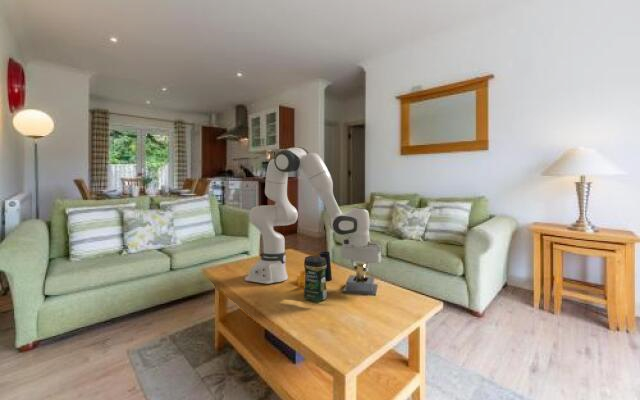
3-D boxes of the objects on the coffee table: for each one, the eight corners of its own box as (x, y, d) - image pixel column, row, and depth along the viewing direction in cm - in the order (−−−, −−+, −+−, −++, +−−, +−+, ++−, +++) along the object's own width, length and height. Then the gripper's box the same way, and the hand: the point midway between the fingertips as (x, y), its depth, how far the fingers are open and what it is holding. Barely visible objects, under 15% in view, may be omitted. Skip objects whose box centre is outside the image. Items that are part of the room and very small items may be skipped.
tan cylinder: (354, 280, 134) (356, 263, 136) (356, 279, 138) (358, 263, 140) (363, 281, 133) (365, 264, 134) (365, 281, 137) (367, 264, 138)
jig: (342, 292, 131) (342, 282, 131) (347, 283, 145) (347, 274, 145) (375, 295, 128) (375, 284, 128) (377, 285, 141) (377, 276, 141)
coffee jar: (301, 299, 123) (300, 256, 123) (311, 294, 130) (311, 253, 130) (319, 303, 118) (319, 259, 118) (329, 298, 125) (329, 255, 124)
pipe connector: (314, 286, 143) (312, 256, 142) (309, 283, 148) (307, 255, 147) (333, 280, 149) (331, 252, 148) (328, 278, 154) (326, 250, 153)
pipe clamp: (296, 282, 148) (296, 270, 148) (305, 282, 149) (305, 269, 149) (301, 290, 136) (301, 276, 136) (310, 289, 137) (310, 276, 137)
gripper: (383, 242, 132) (383, 271, 132) (345, 238, 144) (345, 265, 144) (377, 244, 127) (377, 274, 127) (339, 240, 139) (339, 268, 139)
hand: (360, 270), depth 136 cm, fingers closed on tan cylinder, 4 cm apart
